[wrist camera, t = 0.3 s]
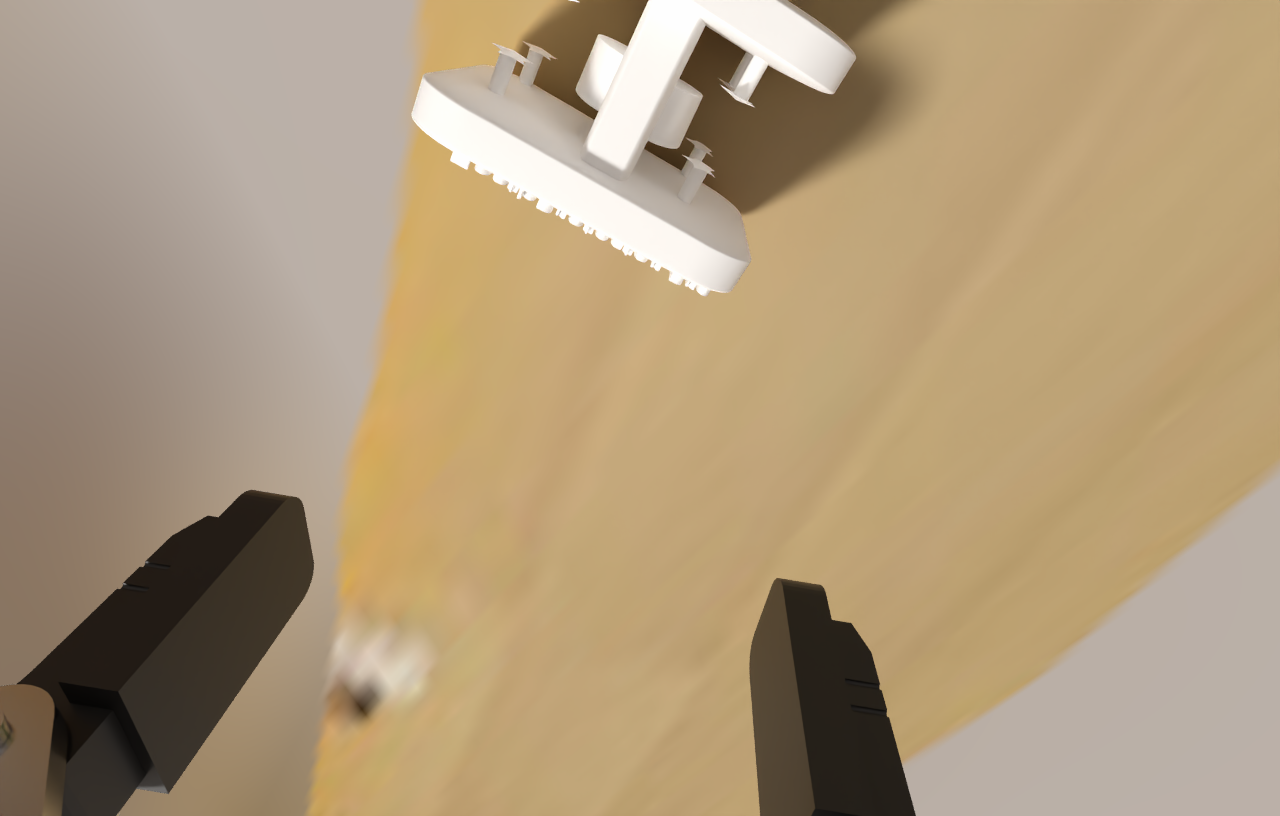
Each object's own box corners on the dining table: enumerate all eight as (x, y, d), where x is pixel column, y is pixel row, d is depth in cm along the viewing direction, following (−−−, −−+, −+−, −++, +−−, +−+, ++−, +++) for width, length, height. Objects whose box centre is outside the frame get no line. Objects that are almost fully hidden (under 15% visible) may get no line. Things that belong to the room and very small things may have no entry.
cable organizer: (831, 54, 31) (893, 65, 21) (718, 240, 36) (725, 318, 26) (557, -125, 28) (480, -210, 18) (477, 103, 34) (383, 132, 24)
